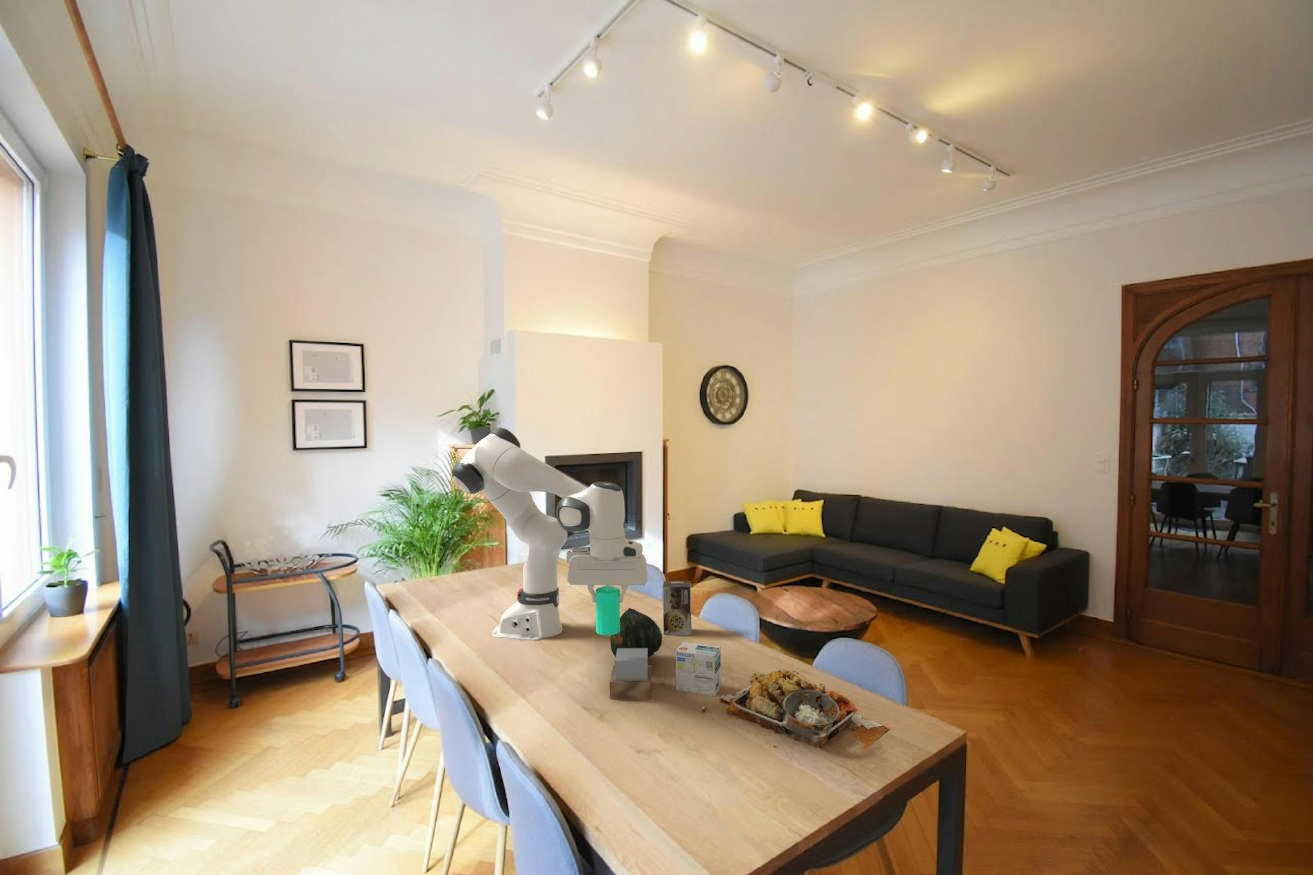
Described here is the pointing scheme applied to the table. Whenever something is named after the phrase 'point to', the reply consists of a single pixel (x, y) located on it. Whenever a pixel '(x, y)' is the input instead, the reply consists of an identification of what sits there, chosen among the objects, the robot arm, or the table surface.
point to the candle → (607, 610)
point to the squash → (636, 633)
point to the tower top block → (631, 664)
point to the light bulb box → (698, 668)
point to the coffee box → (677, 608)
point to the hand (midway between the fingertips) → (607, 601)
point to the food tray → (800, 709)
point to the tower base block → (630, 688)
